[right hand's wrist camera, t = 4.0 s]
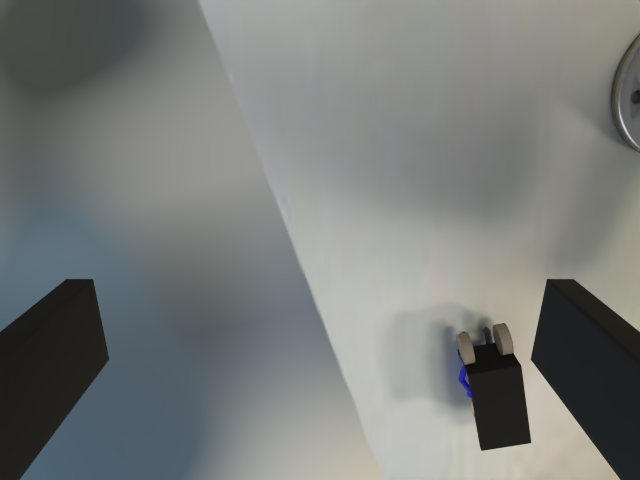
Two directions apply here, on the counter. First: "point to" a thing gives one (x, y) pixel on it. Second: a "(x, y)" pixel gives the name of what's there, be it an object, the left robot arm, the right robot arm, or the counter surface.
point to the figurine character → (495, 389)
